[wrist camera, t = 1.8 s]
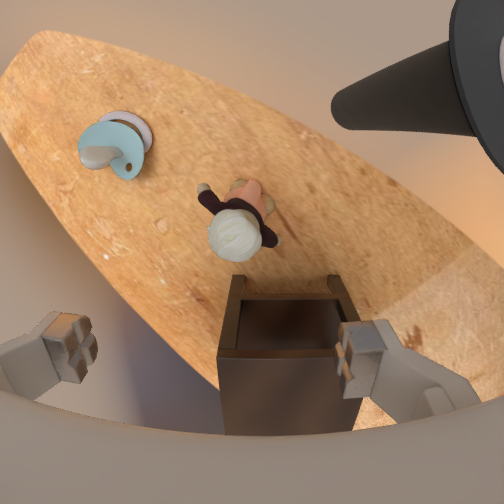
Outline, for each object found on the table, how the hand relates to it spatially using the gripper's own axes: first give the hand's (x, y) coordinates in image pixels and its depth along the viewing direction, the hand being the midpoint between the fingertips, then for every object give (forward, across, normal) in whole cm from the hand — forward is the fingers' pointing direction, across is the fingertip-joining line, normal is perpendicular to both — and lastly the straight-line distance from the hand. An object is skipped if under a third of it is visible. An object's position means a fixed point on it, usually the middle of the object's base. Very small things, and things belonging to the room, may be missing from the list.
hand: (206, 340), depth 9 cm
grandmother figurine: (+22, 0, 0) cm, 22 cm away
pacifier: (+22, +12, -6) cm, 25 cm away
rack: (+21, -4, +13) cm, 25 cm away
